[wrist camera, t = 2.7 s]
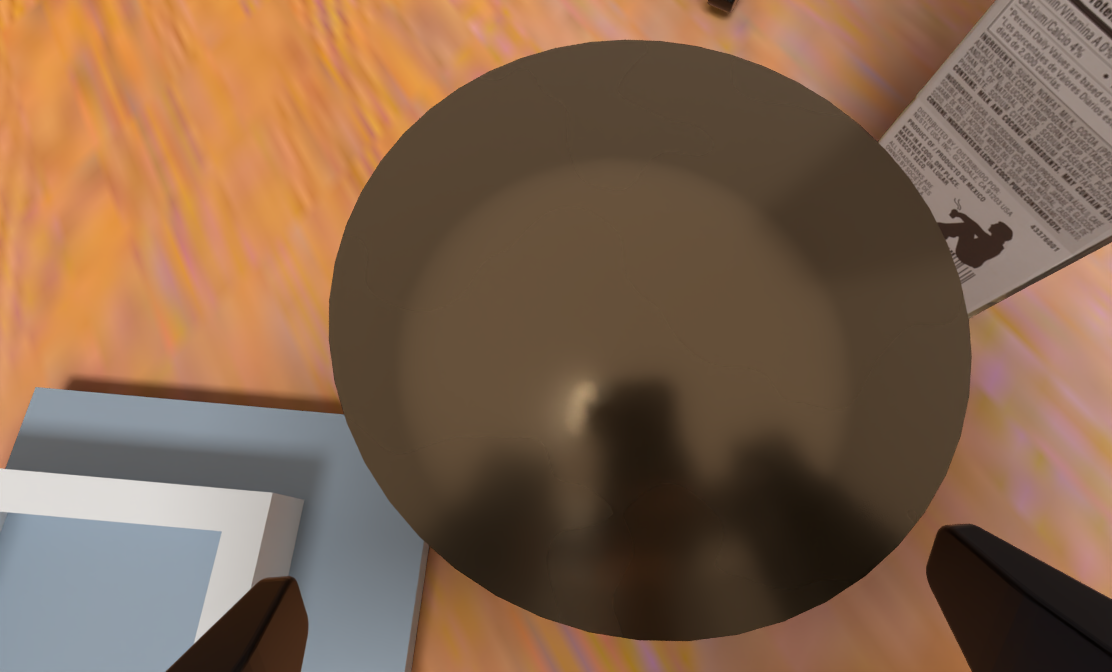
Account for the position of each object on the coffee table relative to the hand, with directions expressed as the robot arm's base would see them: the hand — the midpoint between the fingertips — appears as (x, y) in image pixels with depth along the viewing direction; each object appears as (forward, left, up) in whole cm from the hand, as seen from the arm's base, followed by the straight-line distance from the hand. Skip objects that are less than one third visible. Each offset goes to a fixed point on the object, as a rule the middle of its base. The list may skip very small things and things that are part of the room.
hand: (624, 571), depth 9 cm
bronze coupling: (+2, 0, -10) cm, 10 cm away
